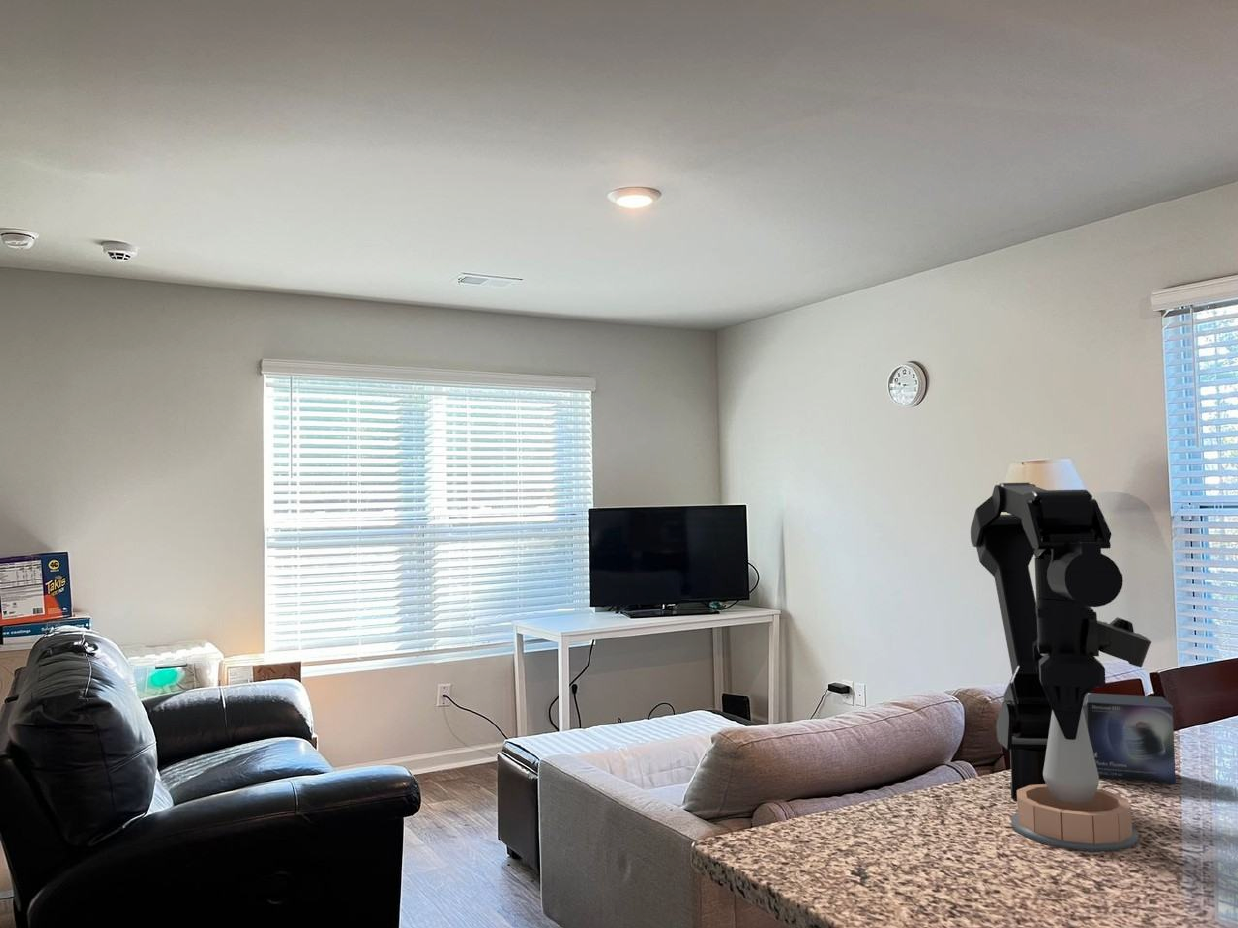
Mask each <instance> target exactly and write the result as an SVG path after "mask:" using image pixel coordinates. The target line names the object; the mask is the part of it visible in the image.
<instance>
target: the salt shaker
mask: <svg viewBox="0 0 1238 928" xmlns="http://www.w3.org/2000/svg"><path fill="white" fill-rule="evenodd" d="M1087 703H1088V694H1086V696H1085V698H1084V702H1083V705H1085V704H1087ZM1043 777H1044V780H1045V783H1046V785H1047V787H1048V789H1049V791H1050V793H1051V796H1052V797H1054V798H1057V799H1059V800H1061V801H1065V802H1074V803H1084V802H1089V801H1092V799H1093V797H1094V794H1095V792H1096V790H1097V789H1098V787H1099V782H1100V778H1099V776H1098V772H1097V767H1096V763H1095V759H1094V755H1093V751H1092V746H1091V742H1090V737H1089V733H1088V728H1087V724H1086V719H1085V715H1084V710H1083V707H1082V711H1081V716H1080V721H1079V726H1078V731H1077V736H1076V739H1075V740H1069V739H1065V737H1064V735H1063V733H1062V730H1061V728H1060V726H1059V724H1058V721H1057V719H1056V717H1055V714H1054V712H1053V710H1052V716H1051V722H1050V729H1049V736H1048V743H1047V749H1046V756H1045V763H1044V770H1043Z"/></svg>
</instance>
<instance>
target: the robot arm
mask: <svg viewBox="0 0 1238 928" xmlns="http://www.w3.org/2000/svg"><path fill="white" fill-rule="evenodd" d="M1002 513H1006V514H1002ZM1111 537H1112V532H1111V530H1110V527H1109V525H1108V524H1107V521H1106V519H1105V516H1104V514H1103V512H1102V510H1101V509H1100V506H1099V503H1098V502H1097V500H1096V499H1095V498H1093V495H1092V494H1091V493H1090V491H1088V490H1087V489H1048V490H1047V489H1045V488H1042V487H1038V486H1036V485H1035V484H1031V483H1030V482H1002V483H1001V482H1000V483H999V484H995V485H994V487H993V490H992V495H991V496H989V498H988V499H986V500H985V501H984V502H982V503H981V504H980V505H979V506H978V507H976V508H975V510H974V515H973V518H972V522H971V526H970V539H971V544H972V547H973V548H976V553H977V558H978V560H979V563H980V565H981V566H982V567H983V568H985V570H987V572H989V574H990V575H991V576H992V577H993V578H994V582H995V586H996V587H995V588H996V592H997V600H998V604H999V608H1000V614H1001V620H1002V625H1003V630H1004V636H1005V641H1006V647H1007V653H1008V657H1009V663H1010V664H1009V665H1010V668H1011V679H1010V680H1009V683H1008V685H1007V687H1006V688H1005V691H1004V693H1003V696H1002V697H1003V701H1002V702H1001V707H1000V710H999V714H998V717H997V721H996V724H995V728H996V736H997V742H998V743H999V744H1000V745H1001V746H1002V747H1003V748H1005V750H1008V751H1009V758H1010V760H1009V761H1010V783H1009V787H1010V788H1009V789H1010V798H1011V799H1013V800H1017V790H1018V789H1021V788H1023V787H1026V786H1028V785H1037V784H1046V783H1045V780H1044V777H1043V770H1044V763H1045V756H1046V749H1047V743H1048V736H1049V729H1050V722H1051V716H1052V710H1053V712H1054V714H1055V717H1056V719H1057V721H1058V724H1059V726H1060V728H1061V730H1062V733H1063V735H1064V737H1065V739H1069V740H1075V739H1076V736H1077V731H1078V726H1079V721H1080V716H1081V711H1082V707H1083V702H1084V698H1085V696H1086V694H1088V693H1091V692H1092V691H1093V690H1094V689H1096V688H1098V687H1106V686H1107V685H1106V683H1107V682H1106V668H1105V666H1104V665H1103V664H1102V663H1101V662H1100V660H1098V659H1097V658H1096V657H1100V655H1099V654H1100V653H1104V654H1105V655H1108V656H1111V657H1114V658H1117V659H1120V660H1123V661H1126V662H1127V663H1128V664H1129V665H1131V666H1134V667H1137V668H1143V665H1144V663H1145V660H1146V658H1147V655H1148V651H1149V650H1150V649H1149V648H1150V646H1151V644H1152V640H1150V639H1149V638H1148V637H1146V636H1144V635H1142V634H1140V633H1136V632H1135V631H1134V630H1135V629H1134V626H1133V625H1134V624H1133V623H1132V622H1131V621H1129V620H1127V619H1123V618H1121V617H1116V618H1114V620H1112V621H1111V622H1110V623H1108V622H1106V621H1101V620H1098V618H1097V617H1098V616H1097V611H1094V608H1099V607H1104V606H1106V605H1108V604H1111V603H1112V602H1113V601H1115V600H1116V598H1117V597H1118V596H1119V595H1120V592H1121V590H1122V588H1123V581H1124V580H1123V574H1122V573H1121V570H1120V568H1119V567H1118V565H1117V563H1116V562H1115V561H1114V560H1113V559H1111V558H1110V557H1109V556H1107V555H1105V554H1103V553H1102V549H1103V550H1107V549H1111V545H1112V544H1111V541H1110V540H1111ZM1033 556H1034V559H1033ZM1032 559H1033V560H1034V578H1035V581H1034V582H1035V583H1034V584H1035V592H1034V587H1033V582H1032V577H1031V572H1030V568H1029V565H1030V563H1031V561H1032Z"/></svg>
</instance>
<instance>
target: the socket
mask: <svg viewBox="0 0 1238 928" xmlns="http://www.w3.org/2000/svg"><path fill="white" fill-rule="evenodd" d="M1016 804H1017V805H1016V807H1017V808H1016V809H1017V812H1015V813H1014V814H1012V816H1011V818H1010V822H1011V824H1010V825H1011V828H1012V829H1013V830H1014V831H1015V833H1018V834H1019V835H1020V836H1023V837H1025V838H1026V839H1029V840H1032V841H1035V842H1037V843H1040V844H1043V845H1048V846H1052V847H1055V848H1061V849H1068V850H1074V851H1084V852H1085V851H1086V852H1115V851H1116V852H1117V851H1122V850H1127V849H1131V848H1133V847H1135V846H1137V845H1138V844H1139V841H1140V833H1139V831H1138V829H1137V828H1136V827H1134V826H1133V820H1132V819H1133V818H1132V806H1131V804H1130V802H1129V800H1128V799H1127V798H1125V797H1123V796H1120V795H1118V794H1115V793H1113V792H1111V791H1108V790H1103V789H1100V788H1099V789H1098V788H1097V790H1096V792H1095V794H1094V797H1093V799H1092V801H1089V802H1084V803H1074V802H1065V801H1061V800H1059V799H1057V798H1054V797H1052V796H1051V793H1050V791H1049V789H1048V787H1047V785H1046V784H1037V785H1028V786H1026V787H1023V788H1021V789H1018V790H1017V799H1016Z"/></svg>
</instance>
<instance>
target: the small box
mask: <svg viewBox="0 0 1238 928" xmlns="http://www.w3.org/2000/svg"><path fill="white" fill-rule="evenodd" d="M1083 710H1084V715H1085V719H1086V724H1087V728H1088V733H1089V737H1090V742H1091V746H1092V751H1093V755H1094V759H1095V763H1096V767H1097V772H1098V776H1099V779H1110V780H1111V779H1112V780H1121V781H1122V780H1123V781H1124V780H1125V781H1135V782H1145V783H1146V782H1148V783H1158V784H1169V785H1170V784H1171V785H1176V784H1177V779H1176V778H1177V777H1176V757H1175V756H1176V754H1175V752H1176V751H1175V731H1174V730H1175V729H1174V707H1173V705H1172V704H1171V703H1170V702H1169V701H1168V700H1167V699H1165V698H1164V697H1163V696H1152V695H1151V696H1149V695H1131V694H1130V695H1129V694H1111V693H1110V694H1109V693H1094V692H1093V693H1092V692H1089V693H1088V703H1087V704H1085V705H1083Z"/></svg>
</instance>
